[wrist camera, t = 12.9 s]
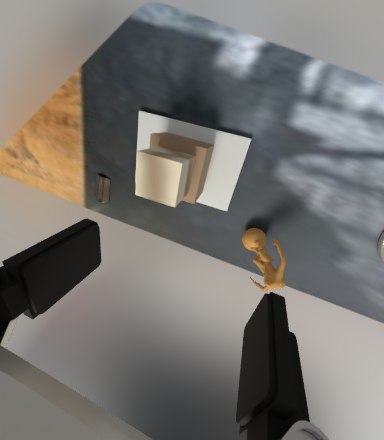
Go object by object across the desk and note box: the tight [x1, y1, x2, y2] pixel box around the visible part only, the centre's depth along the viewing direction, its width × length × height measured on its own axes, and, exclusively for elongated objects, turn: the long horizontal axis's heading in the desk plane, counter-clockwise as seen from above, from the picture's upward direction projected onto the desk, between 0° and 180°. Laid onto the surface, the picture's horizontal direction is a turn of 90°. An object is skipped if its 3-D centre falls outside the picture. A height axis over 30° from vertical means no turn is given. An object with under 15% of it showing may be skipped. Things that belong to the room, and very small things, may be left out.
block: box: [95, 174, 110, 203], centre depth 39 cm, size 4×6×2 cm, turn 163°
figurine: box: [242, 228, 286, 291], centre depth 29 cm, size 8×6×12 cm
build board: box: [135, 111, 251, 211], centre depth 29 cm, size 18×12×6 cm, turn 78°
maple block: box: [135, 146, 195, 207], centre depth 24 cm, size 5×5×5 cm
